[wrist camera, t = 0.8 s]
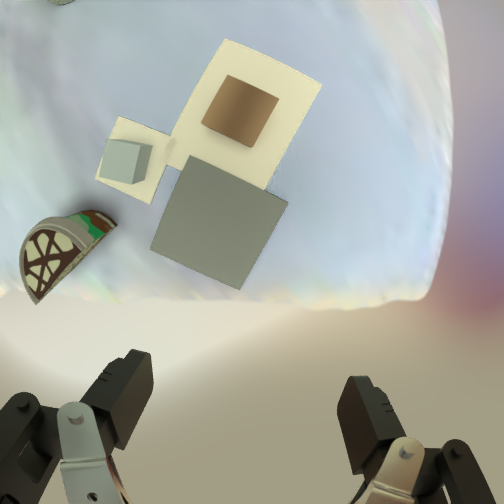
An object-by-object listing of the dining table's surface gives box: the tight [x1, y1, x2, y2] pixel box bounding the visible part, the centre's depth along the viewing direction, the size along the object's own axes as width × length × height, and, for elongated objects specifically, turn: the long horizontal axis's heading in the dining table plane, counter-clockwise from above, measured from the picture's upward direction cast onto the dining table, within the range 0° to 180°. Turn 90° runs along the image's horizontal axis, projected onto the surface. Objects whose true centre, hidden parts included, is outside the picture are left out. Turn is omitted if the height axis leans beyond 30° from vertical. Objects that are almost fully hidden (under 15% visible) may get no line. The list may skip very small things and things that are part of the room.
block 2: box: [201, 75, 279, 148], centre depth 24 cm, size 5×5×6 cm
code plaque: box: [159, 38, 322, 190], centre depth 27 cm, size 12×16×1 cm
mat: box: [150, 155, 288, 290], centre depth 31 cm, size 12×12×1 cm
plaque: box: [95, 116, 177, 204], centre depth 28 cm, size 8×8×1 cm
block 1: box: [99, 139, 153, 185], centre depth 26 cm, size 4×4×4 cm
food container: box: [19, 210, 117, 305], centre depth 26 cm, size 12×6×10 cm, turn 125°
